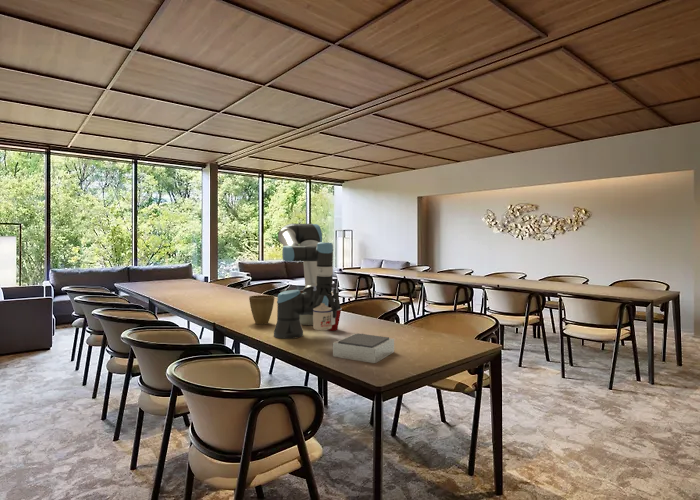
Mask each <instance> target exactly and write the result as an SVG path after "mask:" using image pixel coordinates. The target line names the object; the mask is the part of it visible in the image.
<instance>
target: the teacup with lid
mask: <svg viewBox="0 0 700 500" xmlns="http://www.w3.org/2000/svg"><path fill="white" fill-rule="evenodd" d="M331 311H332V308H331V306H330V307H329V305H328V306H326V305H325V303H321V305H320V306H318V307H316V308H314V309H313V325H312V328H313V329H314V330H315V331H317V330H318V331H329V329H331V328H332V325H331Z"/></svg>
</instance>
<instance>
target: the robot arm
mask: <svg viewBox="0 0 700 500" xmlns="http://www.w3.org/2000/svg"><path fill="white" fill-rule="evenodd" d="M322 232H323V231H322V228H321V226H320V225H319V224H317V223H294V222H293V223H288V224H286V225H284V226H282V227H281V228H280V230H279V231H278V234H277V237H278V241H279V243H280V244H281V245H282V250H281V251H282V254H281V255H282V260H283V262H290V263H291V262H303V274H304V285H305V286H304V288H303V290H302V292H301V290H300V289H291V290H290V289H289V290H284V291H281V292H280V293H278V294H277V301H276V304H277V309H276V311H277V312H276V313H277V318H276V319H277V320H276V324H275V326H274V331H273V337H275V338H277V339H285V340H286V339H288V340H290V339H299V338H301V337H303V336H304V329H303V327H302V326H303V325H301V323H300V315H313V309H314V308H316V307H318V306H320V305H321V303H325V305H326V306H328V307H329V305H330V308H332V311H331V325H334V324H335V318H336V317H337V310H339V309H341V308H342V307H341V302H340V298H339V288H338V287H336V288H335V287H333V275H334V269H333V268H334V267H333V266H334V263H333V262H334V244H333V243H332V242H323V233H322Z"/></svg>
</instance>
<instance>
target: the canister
mask: <svg viewBox="0 0 700 500" xmlns="http://www.w3.org/2000/svg"><path fill="white" fill-rule="evenodd" d="M300 323H301V326H313V315H300Z"/></svg>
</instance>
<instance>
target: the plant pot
mask: <svg viewBox="0 0 700 500" xmlns="http://www.w3.org/2000/svg"><path fill="white" fill-rule="evenodd" d="M248 299H249V300H248V301H249V306H250V311H251V314H252V318H253V321H254V323H255V324H256V325H267V324H269V322H270V319H271V315H272V312H273V308H274V304H275V296H274V295H269V294H268V295H266V294H262V295H261V294H260V295H259V294H257V295H250V296H249V297H248Z"/></svg>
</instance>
